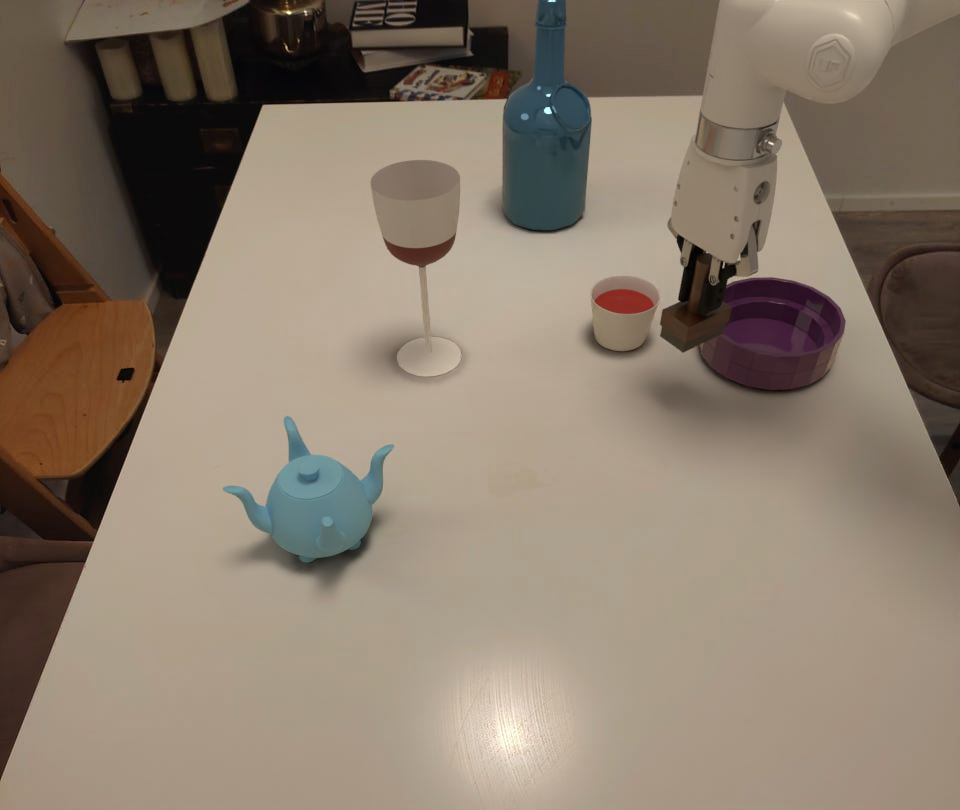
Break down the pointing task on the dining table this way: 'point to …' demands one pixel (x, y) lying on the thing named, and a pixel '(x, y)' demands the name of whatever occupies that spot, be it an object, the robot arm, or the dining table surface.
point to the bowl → (776, 334)
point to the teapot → (316, 501)
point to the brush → (694, 314)
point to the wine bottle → (546, 135)
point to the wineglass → (420, 242)
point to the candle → (623, 311)
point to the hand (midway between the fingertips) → (699, 302)
